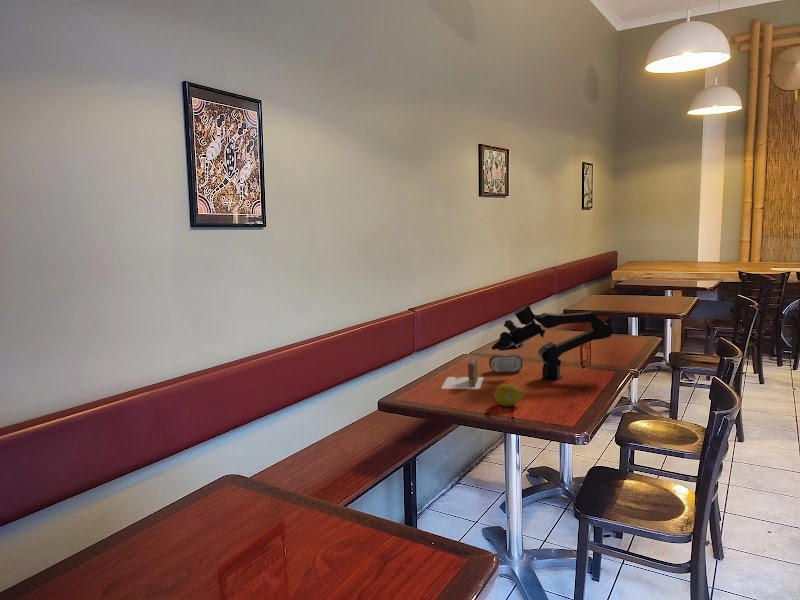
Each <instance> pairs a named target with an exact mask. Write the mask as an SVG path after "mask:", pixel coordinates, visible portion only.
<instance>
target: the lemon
mask: <svg viewBox="0 0 800 600" xmlns="http://www.w3.org/2000/svg"><path fill="white" fill-rule="evenodd" d="M492 396H493V397H494V399H495V401H496V403H497V404H498V405H500V406H503V407H511V406H514V405H516V404H517V403H518V402H519V401H520V400H521V399H522V398H523V396H524V390H523V389H521V388H520V387H517V386H515V385H513V384H506V383H504V384H502V385H500V386H498V387H497V388H496V389H495V392H494V393H493V395H492Z"/></svg>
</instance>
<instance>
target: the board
mask: <svg viewBox="0 0 800 600" xmlns="http://www.w3.org/2000/svg"><path fill="white" fill-rule="evenodd" d="M467 370H468V376H467V377H468V378H469V387H475V385H476V382H477V380H478V377H479V376H478V375H479V373H478V370H479V369H478V356H471V357H470V359H469V361H468V363H467Z"/></svg>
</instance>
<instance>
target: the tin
mask: <svg viewBox="0 0 800 600" xmlns="http://www.w3.org/2000/svg"><path fill="white" fill-rule="evenodd" d="M523 363H524V362H523V359H522V357H521V356H520V355H519V354H517V353H496V354H493V355H491V357H490V358H489V359H488V365H489V368H490V370H492V372H494V373H518V372H519V371H521V369H522V368H523V366H524V365H523Z"/></svg>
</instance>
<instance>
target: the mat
mask: <svg viewBox="0 0 800 600" xmlns="http://www.w3.org/2000/svg"><path fill="white" fill-rule="evenodd" d="M455 377H456V376H448V377H447V378H446V379H445V380H444V383H443V384H442V386H441V388H440V389H446V390H447V389H448V390H449V389H450V390H451V389H452V390H453V389H455V390H480V389H481V387H482V383H483V381H484V377H483V376H481V377H480V376H478V380H477V382H476V385H475V387H469V378H468V376H457V377H458V378H459V377H460V378H459V379H458V378H455ZM461 377H462V378H461ZM456 379H457V380H456Z"/></svg>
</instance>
